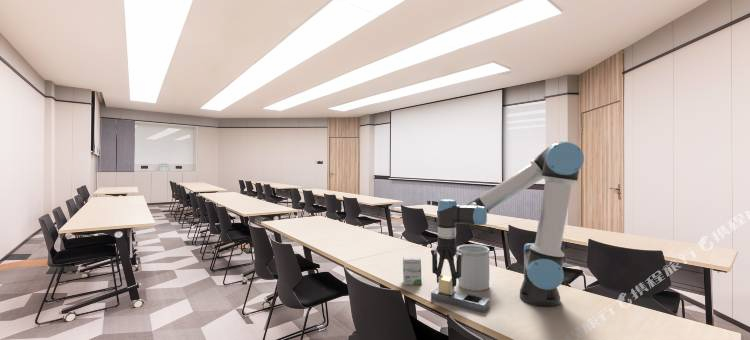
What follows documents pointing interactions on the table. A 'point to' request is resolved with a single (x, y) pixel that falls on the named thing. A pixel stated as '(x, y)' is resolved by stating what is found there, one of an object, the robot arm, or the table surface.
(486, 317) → the table surface
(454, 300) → the grey slotted tray
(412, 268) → the ink box
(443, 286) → the block
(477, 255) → the utensil holder
